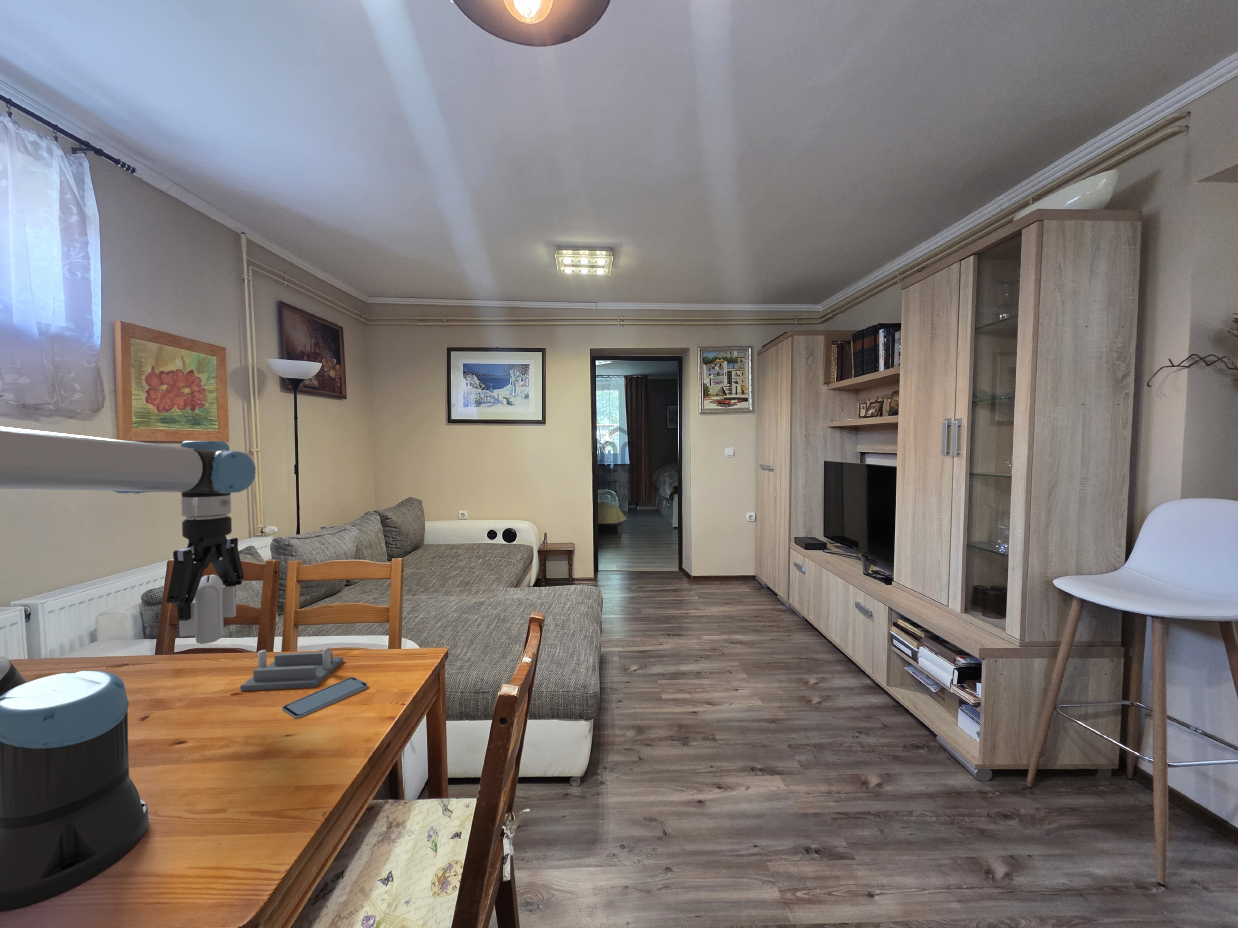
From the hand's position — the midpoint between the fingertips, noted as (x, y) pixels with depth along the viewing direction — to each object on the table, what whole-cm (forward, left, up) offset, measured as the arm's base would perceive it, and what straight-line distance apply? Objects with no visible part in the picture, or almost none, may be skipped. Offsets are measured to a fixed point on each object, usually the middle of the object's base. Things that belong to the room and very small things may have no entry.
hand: (209, 625), depth 95 cm
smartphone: (+5, -20, -19) cm, 28 cm away
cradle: (+16, -7, -19) cm, 26 cm away
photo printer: (0, 0, -2) cm, 2 cm away
